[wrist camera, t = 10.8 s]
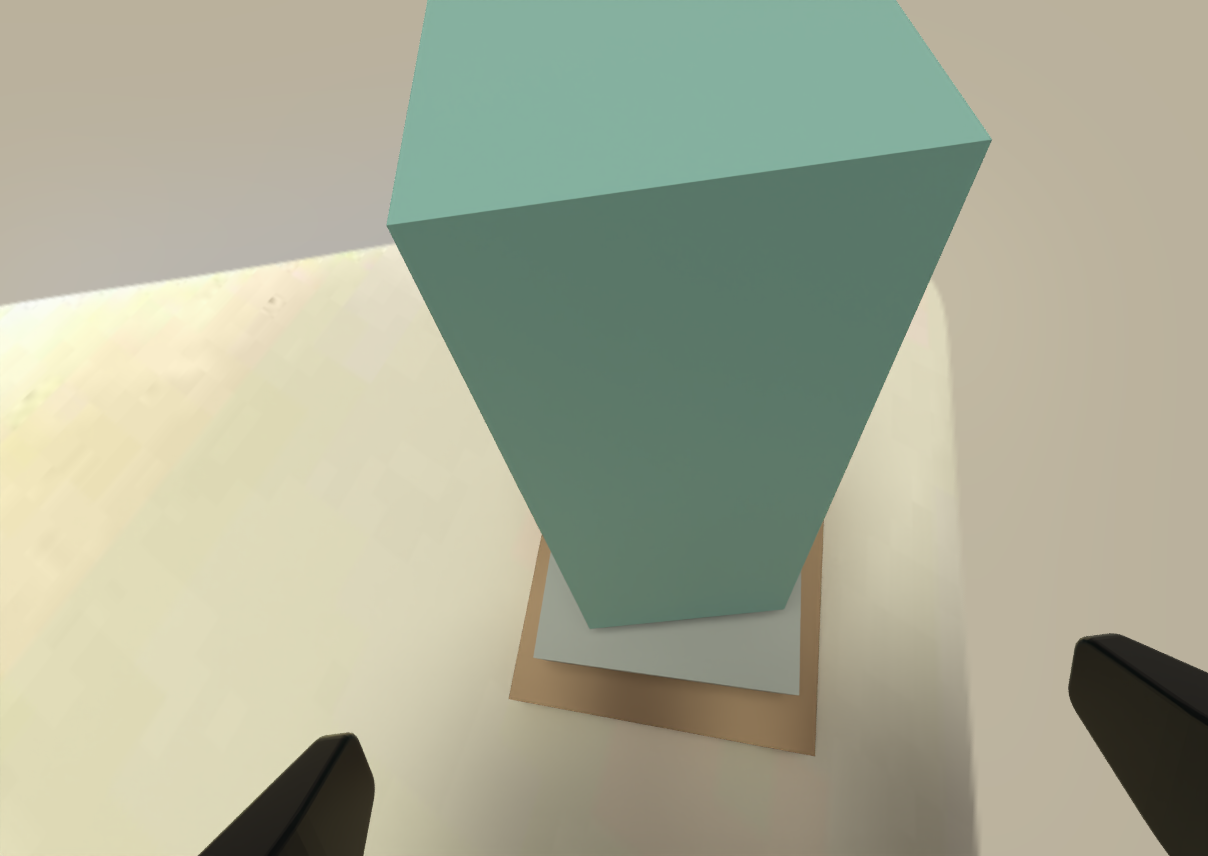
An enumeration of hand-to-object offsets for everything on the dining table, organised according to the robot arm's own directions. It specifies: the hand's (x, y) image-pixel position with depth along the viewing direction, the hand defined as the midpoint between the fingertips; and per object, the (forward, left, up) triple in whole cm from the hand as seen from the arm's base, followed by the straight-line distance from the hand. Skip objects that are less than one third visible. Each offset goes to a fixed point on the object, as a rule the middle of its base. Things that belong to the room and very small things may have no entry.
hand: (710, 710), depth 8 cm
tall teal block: (+3, -3, -9) cm, 10 cm away
